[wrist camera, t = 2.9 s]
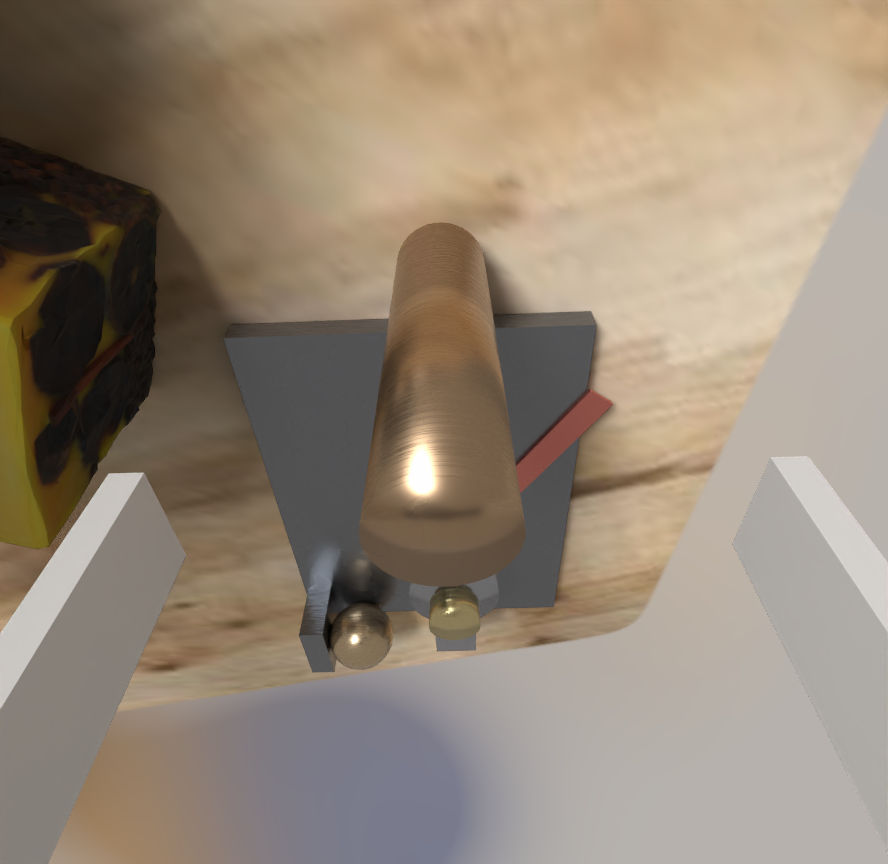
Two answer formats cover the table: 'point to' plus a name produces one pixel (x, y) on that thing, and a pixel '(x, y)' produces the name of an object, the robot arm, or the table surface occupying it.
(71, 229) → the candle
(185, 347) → the table surface
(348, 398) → the base
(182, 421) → the table surface
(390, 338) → the lever
